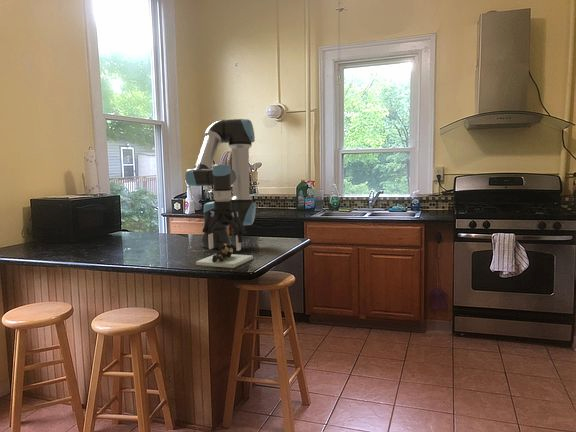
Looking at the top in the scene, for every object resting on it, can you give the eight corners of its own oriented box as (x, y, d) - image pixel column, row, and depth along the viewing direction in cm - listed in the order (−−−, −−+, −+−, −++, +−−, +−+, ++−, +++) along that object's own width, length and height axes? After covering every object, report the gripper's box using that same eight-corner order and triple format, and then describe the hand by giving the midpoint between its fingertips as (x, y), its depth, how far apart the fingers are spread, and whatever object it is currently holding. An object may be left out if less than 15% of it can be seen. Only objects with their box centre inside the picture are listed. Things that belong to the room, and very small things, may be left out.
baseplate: (217, 256, 209) (217, 253, 209) (253, 258, 202) (252, 255, 202) (196, 265, 192) (195, 261, 192) (233, 267, 186) (233, 264, 186)
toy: (211, 249, 188) (224, 239, 202) (208, 263, 190) (222, 253, 204) (225, 253, 187) (237, 243, 201) (222, 267, 189) (235, 256, 203)
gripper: (193, 200, 195) (195, 249, 198) (244, 201, 186) (246, 252, 189) (202, 199, 202) (204, 246, 205) (252, 200, 193) (254, 249, 196)
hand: (224, 249), depth 197 cm, fingers open, 13 cm apart
